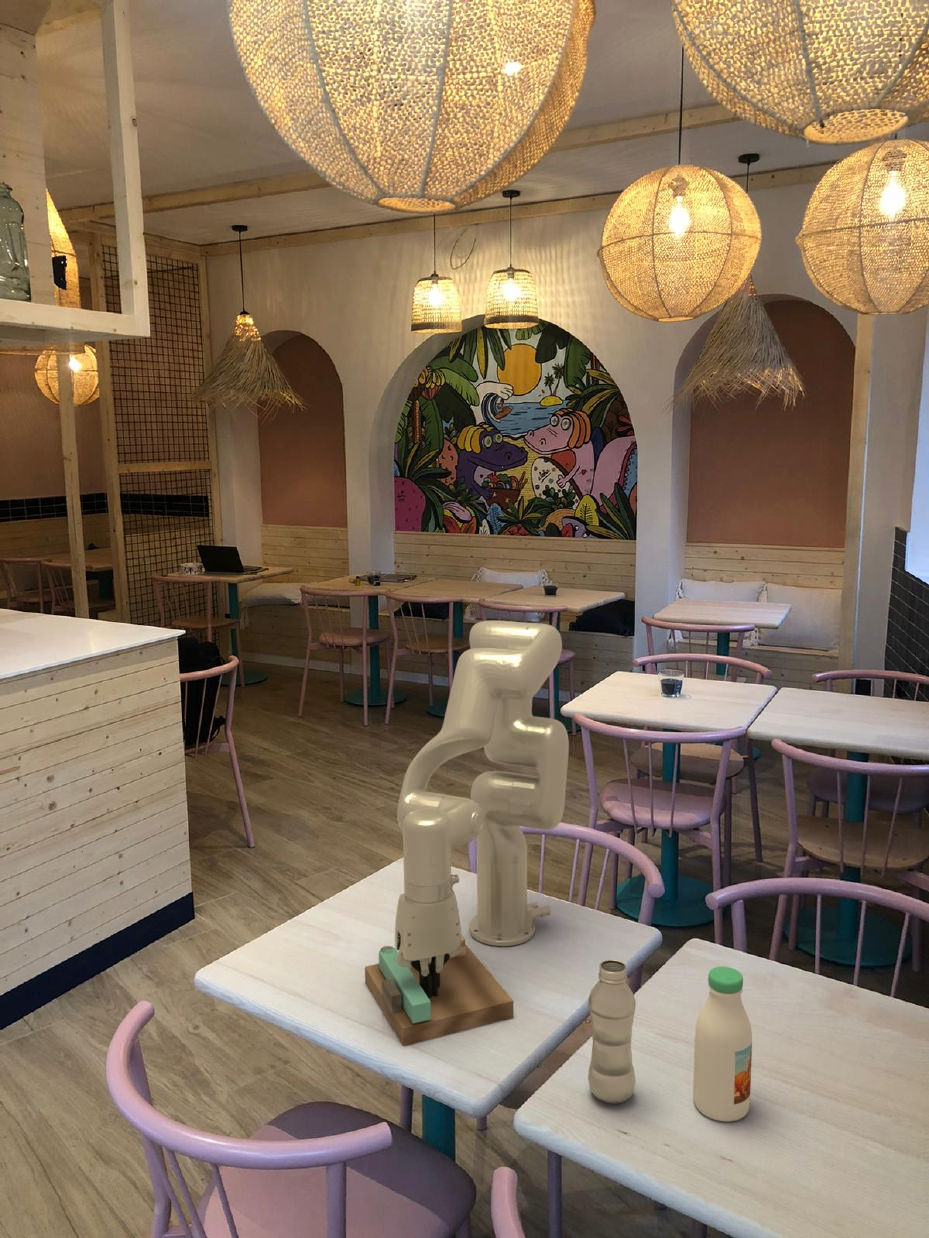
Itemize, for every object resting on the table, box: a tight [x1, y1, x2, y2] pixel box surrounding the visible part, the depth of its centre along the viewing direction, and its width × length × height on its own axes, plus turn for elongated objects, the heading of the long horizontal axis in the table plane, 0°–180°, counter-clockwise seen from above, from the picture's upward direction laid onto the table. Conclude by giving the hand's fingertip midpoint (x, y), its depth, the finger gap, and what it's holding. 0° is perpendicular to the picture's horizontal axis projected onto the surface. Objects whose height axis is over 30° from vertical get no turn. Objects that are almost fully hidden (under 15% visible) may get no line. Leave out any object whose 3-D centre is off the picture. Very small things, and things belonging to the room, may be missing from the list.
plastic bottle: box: [587, 959, 637, 1105], centre depth 138 cm, size 6×7×20 cm
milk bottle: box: [692, 966, 753, 1123], centre depth 136 cm, size 8×8×20 cm
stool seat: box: [364, 934, 514, 1047], centre depth 164 cm, size 19×20×6 cm
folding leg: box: [378, 945, 431, 1023], centre depth 161 cm, size 19×3×3 cm, turn 22°
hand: (429, 992), depth 159 cm, fingers closed
